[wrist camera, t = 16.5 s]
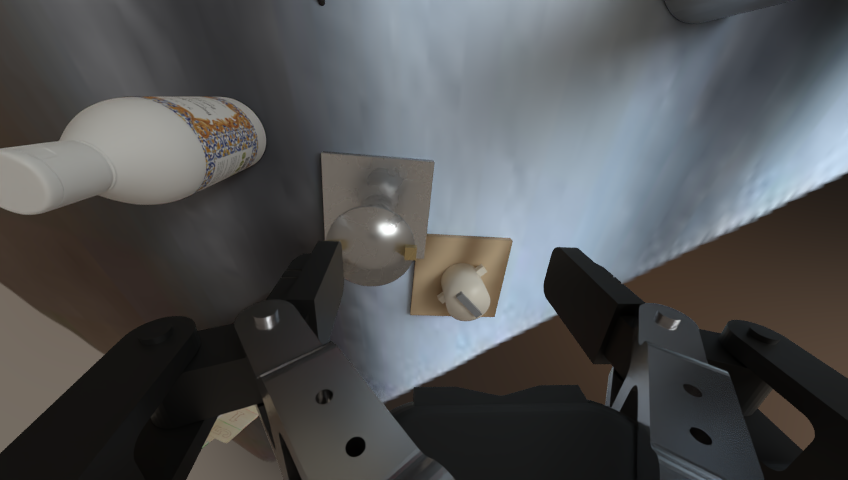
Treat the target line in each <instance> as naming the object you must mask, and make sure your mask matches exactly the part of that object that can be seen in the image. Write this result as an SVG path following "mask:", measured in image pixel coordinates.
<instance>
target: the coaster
mask: <svg viewBox="0 0 848 480" xmlns="http://www.w3.org/2000/svg"><path fill="white" fill-rule="evenodd" d="M512 242H513V241H512V240H511V238H495V237H477V236H458V235H440V234H427V236H426V245H425V254H424V259H418V258H416V261H415V267H414V277H413V288H412V298H411V309H410V315H430V316H451V315H450V314H449V313H448V310H447V307H446V303H443V304H442V303H441V302H440V301H439V300H438V297H437V295H439V294H440V293H442V292H443V290H442V286H441V277H442V275H443V273H444V272H445V270H446V269H447V268H449V267H450V266H452V265H454V264H458V263H466V264H470V265H472V266H474V267H475V268H476V267H477V266H479V265H480V264H482V265H483V266H484V267H485V269H486V270H487V273H485V274H484V275H482V276H481V279H482V281H483V283H484V285H485V287H486V289H487V291H488V294H489V296H490V306H489V308H488V310H487V311H486V312H485V314H483V315H482V316H481V317H495V313H496V308H497V304H498V300H499V296H500V292H501V287H502V283H503V279H504V275H505V271H506V267H507V262H508V258H509V254H510V250H511V246H512Z"/></svg>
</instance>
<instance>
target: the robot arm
mask: <svg viewBox="0 0 848 480" xmlns="http://www.w3.org/2000/svg"><path fill="white" fill-rule="evenodd" d="M790 1H794V0H665V3H666V6H667V7H668V9H669V11H670V12H671V14H672V15H673V16H675V17H676V18H677V19H678V20H680V21H682V22H685V23H691V24H697V23H703V22H708V21H712V20H716V19H720V18H724V17H728V16H732V15H736V14H741V13H745V12H750V11H754V10H758V9H762V8H766V7H770V6H774V5H778V4H782V3H786V2H790ZM343 288H344V273H343V257H342V244H341V242H340V241H318V243H317V245H316V247H315V248H314V250H313V252H312V254H302V255H300V256H299V257H297V258H296V259H294V260H293V261H292V262H291V263H290V265H289V266H288V268H287V271H285V272H284V274H283V275H282V278H280V280H279V282H278V283H277V285H276V286H275V288H274V289H273V291H272V292H271V294H270V295H269V297H268V298H267V300H266V301H261V302H258V303H255V304H253V305H251V306H249V307H247V308H246V309H244V310H243V311H241V312H240V313H239V314H238V316H237V317H236V319H235V321H234V324H230V325H226V326H221V327H216V328H211V329H206V330H201V331H197V329H196V326H195V323H194V321H193V320H192V319H190V318H187V317H182V316H172V317H165V318H161V319H157V320H154V321H151V322H148V323H146V324H144V325H141V326H139V327H137V328H136V329H134V330H132V331H131V332H129V333H128V334H127V335H125V336H124V337H123V338H122V339H121V340H120V341H119V342H118V343H117V344H116V345H115V346H113V347H112V348H111V349H110V350H109V351H108V352H107V353H106V354H105V355H104V356H103V357H102V358H101V359H100V360H99V361H98V362H97V363H96V364H94V365H93V366H92V367H91V368H90V369H89V370H88V371H87V372H86V373H85V374H84V375H83V376H82V377H81V378H80V379H79V380H78V381H76V382H75V383H74V384H73V385H72V386H71V387H70V388H69V389H68V390H67V391H66V392H65V393H64V394H63V395H62V396H60V397H59V398H58V399H57V400H56V401H55V402H54V403H53V404H52V405H51V406H50V407H49V408H48V409H47V410H46V411H45V412H44V413H42V414H41V415H40V416H39V417H38V418H37V419H36V420H35V421H34V422H33V423H32V424H31V425H30V426H29V427H28V428H27V429H26V430H24V432H22V434H20V435H19V436H18V437H17V438H16V439H15V440H14V441H13V442H12V443H11V444H10V445H9V446H8V447H7V448H5V450H3V451H2V452H1V453H0V480H186V479H187V477H188V475H189V473H190V471H191V469H192V467H193V465H194V463H195V461H196V459H197V457H198V455H199V453H200V451H201V449H202V447H203V445H204V443H205V441H206V439H207V437H208V435H209V433H210V431H211V429H212V427H213V425H214V423H215V421H216V419H217V417H218V416H219V415H222V414H225V413H229V412H232V411H236V410H239V409H242V408H246V407H249V406H253V405H255V407H256V409H257V412H258V414H259V417H260V419H261V422H262V424H263V427H264V429H265V432H266V434H267V437H268V439H269V442H270V444H271V447H272V449H273V452H274V454H275V457H276V459H277V462H278V465H279V468H280V471H281V474H282V477H283V480H848V378H846V377H844V376H843V375H841V374H840V373H838V372H837V371H836V370H834V369H832V368H831V367H829V366H828V365H826V364H825V363H823V362H822V361H820V360H819V359H817V358H816V357H814V356H813V355H811V354H810V353H808V352H807V351H805V350H804V349H802V348H801V347H799V346H798V345H796V344H795V343H793V342H792V341H790V340H789V339H787V338H786V337H784V336H782V335H781V334H779V333H776V332H775V331H773V330H771V329H768V328H766V327H764V326H761V325H758V324H755V323H752V322H748V321H742V320H731V321H729V322H728V323H727V325H726V326H725V328H724V330H723V332H722V333H715V332H711V331H706V330H701V329H699V328H698V326H697V324H696V323H695V322H694V321H693V320H692V319H690V318H689V317H688V316H686V315H685V314H683V313H681V312H679V311H677V310H675V309H673V308H670V307H667V306H664V305H660V304H654V303H645V302H643V301H642V300H641V299H640V298H639V297H638V296H637V295H635V294H634V293H633V292H632V291H631V290H630V289H628V288H627V287H626V286H625V285H624V284H621V282H620V281H619V280H618V279H617V278H615V277H613V275H612V274H611V273H610V272H608V271H607V270H606V269H605V268H604V267H602V266H600V265H598V264H596V263H594V262H593V261H592V260H591V259H590V258H589V257H587V256H586V255H585V254H584V253H583V252H582V251H581V250H579V249H578V248H566V247H557V248H555V249H554V250H553V252H552V255H551V258H550V262H549V266H548V269H547V273H546V277H545V280H544V294H545V297H546V298H547V300H548V301H549V303H550V304H551V306H552V307H553V308H554V310H555V311H556V313H557V314H558V315H559V316H560V318H561V319H562V321H563V322H564V324H565V325H566V326H567V328H568V329H569V331H570V332H571V333H572V335H573V336H574V338H575V339H576V341H577V342H578V343H579V345H580V346H581V348H582V349H583V350H584V352H585V353H586V355H587V356H588V357H589V359H590V360H591V362H592V363H593V364H611V365H612V366H613V367H612V370H611V372H610V375H609V380H608V388H607V396H606V404H605V405H603V404H600V403H597V402H594V401H591V400H587V399H586V397H585V396H584V394H583V393H582V391H581V389H580V387H579V386H578V385H548V386H546V385H544V386H543V385H542V386H536V387H532V388H529V389H525V390H522V391H518V392H515V393H511V394H508V395H504V396H498V395H492V394H487V393H483V392H478V391H473V390H469V389H464V388H459V387H414V393H413V402H410V403H407V404H404V405H402V406H399V407H397V408H395V409H393V410H391V411H388V410H387V408H386V407H385V406H384V404H383V403H382V402H381V401H380V399H379V398H378V397H377V396H376V394H375V393H374V392H373V391H372V389H371V388H370V387H369V385H368V384H367V383H366V382H365V380H364V379H363V378H362V377H361V375H360V374H359V373H358V372H357V370H356V369H355V368H354V366H353V365H352V364H351V363H350V361H349V360H348V359H347V358H346V356H345V355H344V354H343V353H342V351H341V350H340V349H339V348H338V346H337V345H336V344H335V343H334V342H332V341H330V342H329V339H330V335H331V332H332V329H333V325H334V322H335V318H336V315H337V312H338V308H339V305H340V302H341V298H342V295H343ZM772 389H774V390H775V391H776V392H778V393H779V394H780V395H781V396H782V397H784V398H785V399H786V400H787V401H788V402H790V403H791V404H792V405H793V406H794V407H796V408H797V409H798V410H799V411H800V412H802V413H803V414H804V415H805V416H806V417H807V418H808V419H809V420H810V422H811V423H812V425H813V427H814V430H815V438H814V440H813V441H812V442H811V443H810V445H809V446H808V447H807V448H806V449H805V450H804V451H803V450H802V449H800V448H799V447H798V446H797V445H796V444H795V443H794V442H793V441H791V439H790V438H789V437H787V436H786V435H785V434H784V433H783V432H782V431H781V430H780V429H779V428H778V427H777V426H776V425H775V424H774V423H772V422H771V421H770V420H769V419H768V418H767V417H766V416H765V415H764V414H763V413H762V412H761V411H760V410H759V409H757V408H758V407H759V406H760V405H761V403H762V402H763V401H764V399H765V398H766V397H767V396H768V394H769V393H770V392H771V391H772Z"/></svg>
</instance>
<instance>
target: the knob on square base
mask: <svg viewBox="0 0 848 480" xmlns="http://www.w3.org/2000/svg"><path fill="white" fill-rule="evenodd" d="M321 163H322V185H323V207H324V230H325V240H324V241H340V242H341V244H342V257H343V273H344V278H345V279H346V280H348V281H350V282H353V283H355V284H358V285H363V286H380V285H385V284H388V283H390V282H393V281H395V280H396V279H398V278H399V277H401V276H402V275H403V274H404V273H405V272H406V271H407V270H408V268H409V267H410V265H411V263H412V261H413V260H415V261H416V258H418V259H424V254H425V245H426V236H427V227H428V217H429V208H430V199H431V190H432V180H433V171H434V161H433V160H422V159H410V158H398V157H386V156H373V155H361V154H349V153H337V152H325V151H323V152H322V153H321Z"/></svg>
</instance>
